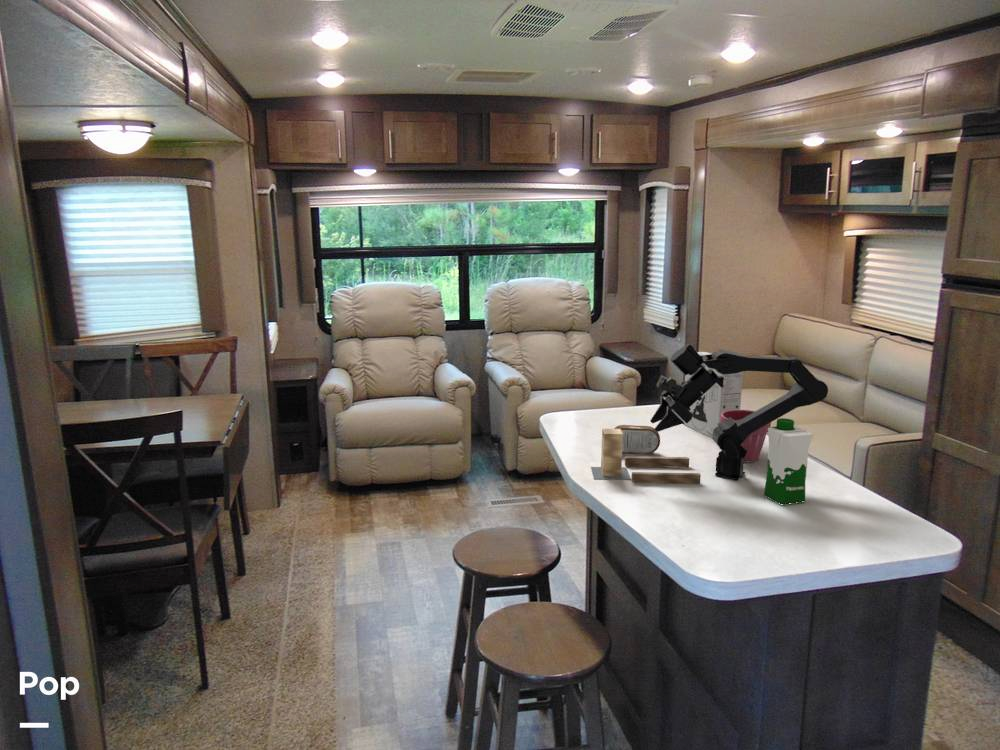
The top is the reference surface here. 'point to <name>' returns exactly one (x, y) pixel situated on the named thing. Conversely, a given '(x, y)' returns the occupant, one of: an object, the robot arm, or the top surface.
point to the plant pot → (754, 439)
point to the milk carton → (787, 462)
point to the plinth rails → (661, 477)
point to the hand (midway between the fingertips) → (653, 426)
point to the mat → (598, 475)
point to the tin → (639, 439)
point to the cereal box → (715, 402)
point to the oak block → (611, 452)
